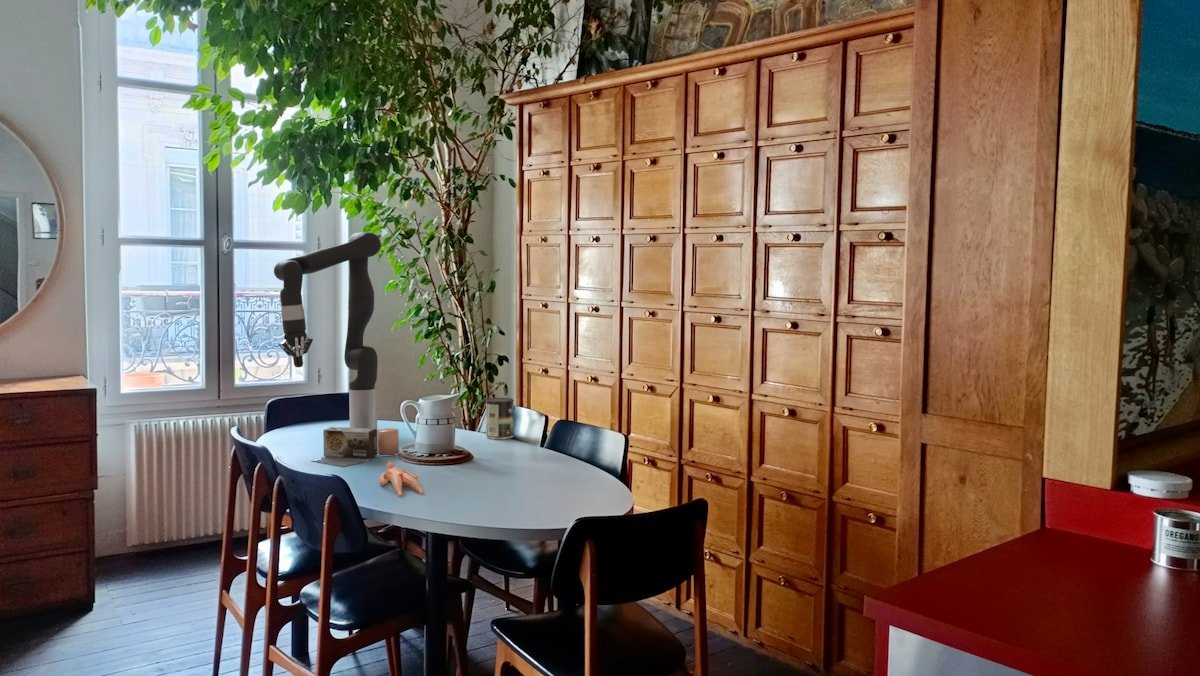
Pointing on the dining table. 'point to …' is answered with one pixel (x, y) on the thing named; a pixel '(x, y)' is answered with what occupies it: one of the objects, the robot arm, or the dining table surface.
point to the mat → (341, 461)
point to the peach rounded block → (387, 441)
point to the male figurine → (400, 479)
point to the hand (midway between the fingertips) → (299, 366)
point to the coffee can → (499, 418)
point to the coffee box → (350, 442)
